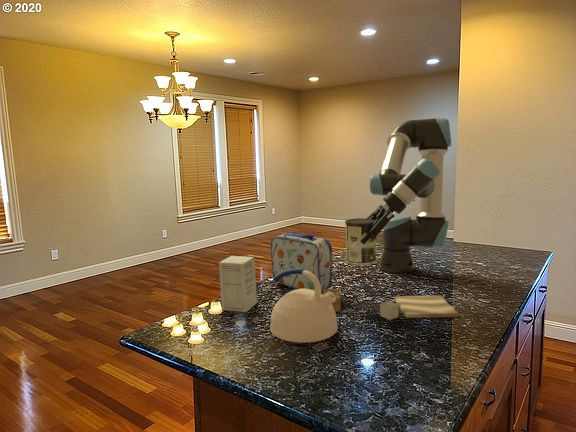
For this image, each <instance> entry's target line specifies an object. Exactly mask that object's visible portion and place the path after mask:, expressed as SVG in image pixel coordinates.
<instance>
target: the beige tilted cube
mask: <svg viewBox="0 0 576 432" xmlns="http://www.w3.org/2000/svg"><path fill="white" fill-rule="evenodd" d="M399 309H400V307H399V305H398V304H397V303H396V302H395V303H394V302H391V301H390V300H389V301H385V302H382V303H379V316H380V317H382V318H384V319H387V320H389V321H391V320H393V319H396V318H399Z"/></svg>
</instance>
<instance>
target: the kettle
mask: <svg viewBox="0 0 576 432" xmlns="http://www.w3.org/2000/svg"><path fill="white" fill-rule="evenodd" d="M291 274H304V275H306V276H308V277H309V278H310V279H311V280H312V282H313V283H314V287H315V291H314V290H310V289H292V288H288V289H286V290H285V291H284V294H283V296H281V297H280V298H279V300H278V301H276V303H275V305H274V307H273V309H272V310H271V311H272V312H271V314H270V327H269V329H270V330H269V331H270V332H271V333H272V335H273V336H275V337H277V338H278V339H280V340H282V341H286V342H290V343H298V344H301V343H302V344H305V343H315V342H321V341H324V340H327V339H329V338H330V337H332V336H334V335H335V334H336V333H337V331H338V329H339V328H338V321H337V312H335V311H334V308H333V306H332V303H333V302H335V301H336V297H335V295H334V294H333V293H332V292H327V294H325V295H324V296H323V295H322V294H323V293H322V290H321V285H320V282H319V280H318V279H317V277H316V276H315V275H314V274H313V273H311V272H309V271H306V270H300V269H297V270H290V271H286V272H283V273H281V274H279V275H277V276H276V277H275V278H274V277H273V281H274V282H277V281H279V280H280V279H281V278H283V277H285V276H287V275H291Z"/></svg>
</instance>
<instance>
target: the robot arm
mask: <svg viewBox="0 0 576 432" xmlns="http://www.w3.org/2000/svg"><path fill="white" fill-rule="evenodd" d="M451 134H452V133H451V126H450V122H449V120H448V119H447V118H438V117H436V118H425V119H424V118H423V119H409V120H406V121H404V122H402V123H400V124H399V125H397V126H396V127H395V128H394V129H393V130H392V131H391V133H389V135H388V138H387V140H386V141H387V142H386V145H387V149H386V152H385V155H384V158H383V161H382V164H381V167H380V171H379V172H378V173H376V174H373V175H371V176H370V179H369V191H370V193H371V194H372V195H374V196H381V197H382V196H384V197H383V201H384V202H385V204H383V205H382V204H380V205H378V207H377V208H376V209H375V210H374V211H373V212H372V213H370V214H369V215H368V216H367V217H366V218H365V219H373V220H375V222H374V223H373V224H372V226H371V227H370V229H369V230H368V231H367V230H366V231H365V233H364V234H363V235H362V236H361V237H360V238H359V239H358V240H357V241H356V242H355V243H354V244H353V245H352V246H351V247H352V248H353V249H354V250H355V251H356V252H358V251H359V250H360V249H361V248H362V247H363V246H364V245H365V244H366V243H367V242H368V241H369V240H370V239H371V238H373V237H374V238H376V239H377V236H379V234H380V233H381V232H382V231H383V234H382V237H383V240H382V242H383V243H382V245H383V247H382V248H383V249H382V254H381V256H380V260H379V264H378V268H379V269H380V270H382V271H384V272H386V273H387V272H388V273H396V274H397V273H400V274H402V273H403V274H404V273H410V272H413V271H414V270H415V262H414V259H413V256H412V255H413V254H412V253H411V247H421V248H432V249H435V248H438V249H440V248H443V247H444V246H445V244H446V240H447V235H448V230H449V224H450V223H449V221H448V220H447V219H446V215H445V214H443V211H442V210H443V208H442V207H443V182H444V181H443V179H444V178H443V177H444V157H445V155H446V154H447V152H448V150H449V149H448V148H450V147H452V135H451ZM410 148H415V149H416V148H418V151H417V152H418V153H419V154H420V155H421V160H419V161H418V162H417V163H416V164H415V165H414V166H413V167H412V168H411V169H410V170H409V171H408V172H407V174H402V173H401V172H402V169H403V164H404V160H405V157H406V153H407V151H408V150H409V149H410ZM416 198H419V199H420V203H419V205H420V207H419V208H420V210H419V212H418V213H417V214H416V215H415V217H416V219H412V217H411V216H410V215H406V214H405V215H400V214H401V213H402V212H403V211H404V210H405V209H406V208H407V205H410V204H411V203H412V202H415V201H416ZM394 213H396V214H399V215H396V216H395V214H394ZM366 233H367V234H366Z"/></svg>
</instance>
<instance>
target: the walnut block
mask: <svg viewBox="0 0 576 432" xmlns="http://www.w3.org/2000/svg"><path fill="white" fill-rule="evenodd" d="M332 293H333V294H334V295H335V297H336V301H335V302H333V303H332V306H333V308H334V311H335V313H337V312H341V311H342V310H341V303H342V300H341V298H340V296H339V295H337V294H336V293H335V292H332ZM321 294H322V295H323V296H324V295H325V294H327V293H324V294H323V293H321Z"/></svg>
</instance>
